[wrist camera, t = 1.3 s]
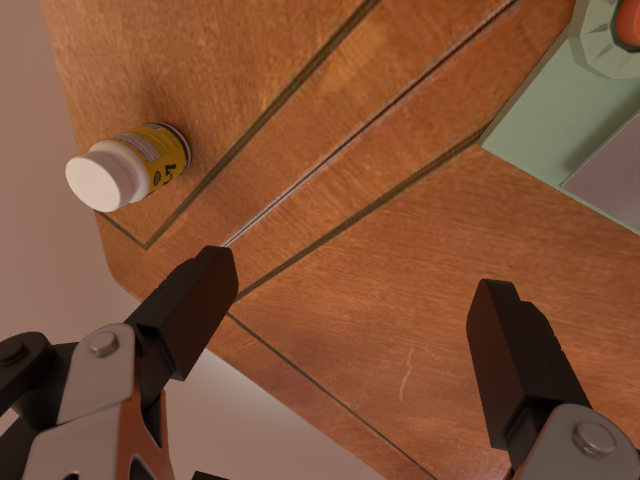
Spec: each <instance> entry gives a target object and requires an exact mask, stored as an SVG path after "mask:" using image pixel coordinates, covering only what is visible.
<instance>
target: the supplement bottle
mask: <svg viewBox="0 0 640 480" xmlns="http://www.w3.org/2000/svg"><path fill="white" fill-rule="evenodd" d="M190 161H191V153H190V148H189V146H188V143H187V142H186V140H185V138H184V137H183V136H182V135H181V133H180V132H178V131H177V130H176V129H175V128H173V127H172V126H170V125H168V124H166V123H162V122H153V123H149V124H147V125H144V126H141V127H138V128H135V129H133V130H130V131H127V132H124V133H122V134H119V135H116V136H114V137H111V138H108V139H105V140H102V141H100V142H98V143H96V144H94V145H93V146H92V147H91V148H90V150H89V152H86V153H84V154H82V155H80V156H78V157H75V158H73V159H71V160H70V161H69V162H68V164H67V166H66V176H67V180H68V182H69V185H70V187H71V188H72V190H73V191H74V193H75V194H76V195H77V196H78V197H79V198H80V199H81V200H82V201H83V202H84V203H85V204H87V205H88V206H90V207H91V208H93V209H95V210H98V211H102V212H111V211H114V210H116V209H118V208H120V207H122V206H124V205H126V204H127V203H133V202H137V201H140V200H142V199H144V198H145V197H147V196H148V195H150V194H151V193H153V192H154V191H156V190H158V189H159V188H161V187H162V186H164V185H165V184H167V183H168V182H170V181H172V180H173V179H175V178H176V177H178V176H179V175H181V174H182V173H184V172H185V171H186V170H187V168H188V167H189V164H190Z"/></svg>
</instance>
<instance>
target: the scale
mask: <svg viewBox="0 0 640 480" xmlns="http://www.w3.org/2000/svg"><path fill="white" fill-rule="evenodd" d="M623 1H624V0H576V4H575V7H574V11H573V14H572V18H571V21H570V23H569V24H568V25H567V26H566V28H565V29H564V30H563V31H562V33H561V34H560V35H559V37H558V38H557V39H556V40H555V42H554V43H553V44H552V45H551V47H550V48H549V49H548V51H547V52H546V53H545V54H544V56H543V57H542V58H541V60H540V61H539V62H538V63H537V65H536V66H535V67H534V68H533V70H532V71H531V72H530V74H529V75H528V76H527V77H526V79H525V80H524V81H523V83H522V84H521V85H520V86H519V88H518V89H517V90H516V91H515V93H514V94H513V95H512V97H511V98H510V99H509V100H508V102H507V103H506V104H505V105H504V107H503V108H502V109H501V111H500V112H499V113H498V114H497V116H496V117H495V118H494V120H493V121H492V122H491V123H490V125H489V126H488V127H487V128H486V130H485V131H484V132H483V134H482V135H481V136H480V137H479V139H478V140H477V142H478V144H479V145H480V147H481V148H483V149H485V150H487V151H489V152H490V153H492V154H494V155H496V156H498V157H499V158H501V159H503V160H505V161H507V162H508V163H510V164H512V165H514V166H516V167H517V168H519V169H521V170H523V171H525V172H526V173H528V174H530V175H532V176H534V177H535V178H537V179H539V180H541V181H543V182H544V183H546V184H548V185H550V186H552V187H553V188H555V189H557V190H559V191H560V192H562V193H564V194H566V195H568V196H569V197H571V198H573V199H575V200H577V201H578V202H580V203H582V204H584V205H586V206H587V207H589V208H591V209H593V210H595V211H596V212H598V213H600V214H602V215H604V216H605V217H607V218H609V219H611V220H613V221H614V222H616V223H618V224H620V225H622V226H623V227H625V228H627V229H629V230H631V231H632V232H634V233H636V234H638V235H640V231H638V230H637V229H635V228H633V227H631V226H629V225H628V224H626V223H624V222H622V221H620V220H619V219H617V218H615V217H613V216H611V215H610V214H608V213H606V212H604V211H602V210H601V209H599V208H597V207H595V206H593V205H592V204H590V203H588V202H586V201H585V200H583V199H581V198H579V197H577V196H576V195H574V194H572V193H570V192H568V191H567V190H565V189H563V188H561V187H560V186H559V184H560V183H561V182H562V181H563V180H565V179H566V178H567V177H568V176H569V175H570V174H571V173H572V172H573V171H574V170H575V169H576V168H577V167H578V166H579V165H580V164H581V163H582V162H583V161H584V160H586V159H587V158H588V157H589V156H590V155H591V154H592V153H593V152H594V151H595V150H596V149H597V148H598V147H599V146H600V145H601V144H602V143H603V142H604V141H606V140H607V139H608V138H609V137H610V136H611V135H612V134H613V133H614V132H615V131H616V130H617V129H618V128H619V127H620V126H621V125H622V124H623V123H624V122H625V121H627V120H628V119H629V118H630V117H631V116H632V115H633V114H634V113H635V112H636V111H637V110H638V109H639V108H640V46H632V45H628V44H626V43H624V42H623V41H622V40H621V39H620V38H619V36H618V35H617V32H616V17H617V13H618V11H619V8H620V6H621V4H622V3H623Z"/></svg>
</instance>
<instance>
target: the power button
mask: <svg viewBox="0 0 640 480" xmlns="http://www.w3.org/2000/svg"><path fill="white" fill-rule="evenodd" d="M616 32H617V35H618V36H619V38H620V39H621V40H622V41H623V42H624V43H626V44H628V45H632V46H640V0H624V1H623V3H622V4H621V6H620V8H619V11H618V13H617V17H616Z"/></svg>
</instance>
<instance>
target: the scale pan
mask: <svg viewBox="0 0 640 480" xmlns="http://www.w3.org/2000/svg"><path fill="white" fill-rule="evenodd" d="M559 186H560V187H561V188H563V189H565V190H567V191H568V192H570V193H572V194H574V195H576V196H577V197H579V198H581V199H583V200H585V201H586V202H588V203H590V204H592V205H593V206H595V207H597V208H599V209H601V210H602V211H604V212H606V213H608V214H610V215H611V216H613V217H615V218H617V219H619V220H620V221H622V222H624V223H626V224H628V225H629V226H631V227H633V228H635V229H637V230H638V231H640V108H639V109H638V110H637V111H636V112H635V113H634V114H633V115H632V116H631V117H630V118H629V119H628V120H627V121H625V122H624V123H623V124H622V125H621V126H620V127H619V128H618V129H617V130H616V131H615V132H614V133H613V134H612V135H611V136H610V137H609V138H608V139H607V140H606V141H604V142H603V143H602V144H601V145H600V146H599V147H598V148H597V149H596V150H595V151H594V152H593V153H592V154H591V155H590V156H589V157H588V158H587V159H586V160H584V161H583V162H582V163H581V164H580V165H579V166H578V167H577V168H576V169H575V170H574V171H573V172H572V173H571V174H570V175H569V176H568V177H567V178H566V179H565V180H563V181H562V182H561V183H560V184H559Z"/></svg>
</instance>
